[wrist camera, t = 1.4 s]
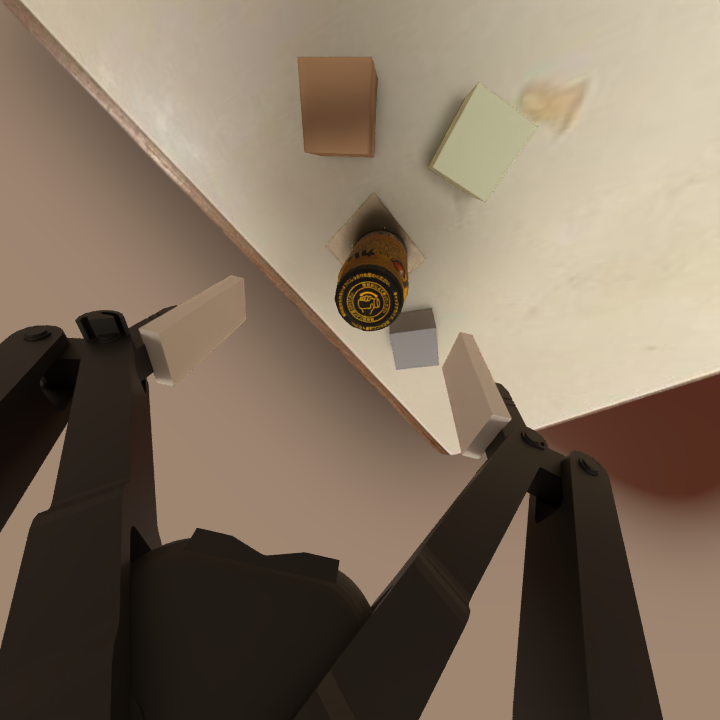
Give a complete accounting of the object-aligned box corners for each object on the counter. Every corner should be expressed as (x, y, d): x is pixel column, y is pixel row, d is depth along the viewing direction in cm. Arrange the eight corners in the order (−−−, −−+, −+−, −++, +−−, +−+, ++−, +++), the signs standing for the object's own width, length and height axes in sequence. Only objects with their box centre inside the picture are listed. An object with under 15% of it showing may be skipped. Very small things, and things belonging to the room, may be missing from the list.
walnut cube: (317, 78, 21) (297, 57, 17) (377, 79, 21) (371, 56, 17) (320, 155, 24) (304, 152, 20) (373, 157, 24) (368, 154, 20)
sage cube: (464, 99, 21) (478, 81, 17) (513, 134, 22) (538, 126, 18) (427, 167, 24) (432, 167, 20) (472, 197, 25) (485, 202, 21)
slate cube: (390, 314, 33) (389, 334, 29) (431, 308, 32) (436, 327, 28) (396, 347, 36) (396, 369, 32) (434, 342, 34) (438, 365, 30)
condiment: (376, 299, 32) (365, 355, 22) (325, 245, 29) (287, 282, 19) (426, 258, 28) (438, 303, 19) (374, 191, 25) (357, 204, 16)
